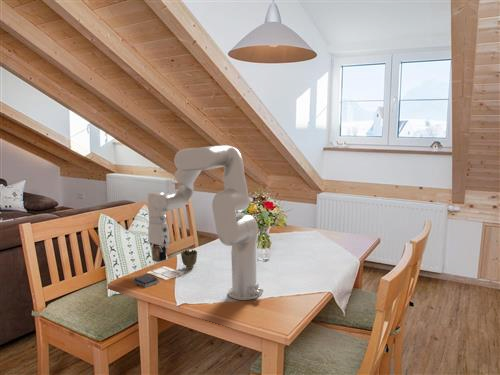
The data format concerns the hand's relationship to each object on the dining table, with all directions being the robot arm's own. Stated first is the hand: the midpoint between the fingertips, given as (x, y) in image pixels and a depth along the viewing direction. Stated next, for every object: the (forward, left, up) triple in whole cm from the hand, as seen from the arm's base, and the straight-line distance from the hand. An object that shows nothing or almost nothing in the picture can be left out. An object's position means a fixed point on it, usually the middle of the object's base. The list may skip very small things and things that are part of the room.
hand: (159, 258), depth 191 cm
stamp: (0, 0, -1) cm, 1 cm away
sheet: (-4, 0, -6) cm, 7 cm away
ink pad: (-6, +12, -6) cm, 15 cm away
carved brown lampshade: (-8, -11, -7) cm, 15 cm away
